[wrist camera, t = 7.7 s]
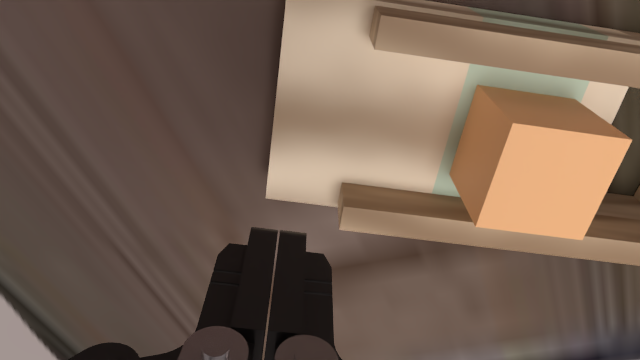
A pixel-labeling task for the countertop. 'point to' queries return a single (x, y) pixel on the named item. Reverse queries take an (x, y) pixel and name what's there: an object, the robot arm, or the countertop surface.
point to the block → (535, 162)
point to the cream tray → (431, 113)
